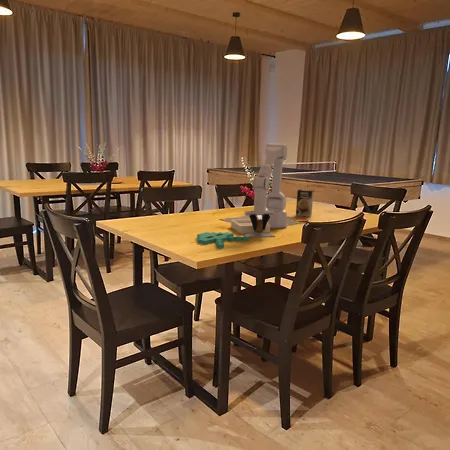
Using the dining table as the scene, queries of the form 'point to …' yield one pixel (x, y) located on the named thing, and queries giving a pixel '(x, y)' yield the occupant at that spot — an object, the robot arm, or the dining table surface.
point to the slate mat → (258, 235)
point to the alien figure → (218, 238)
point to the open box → (246, 226)
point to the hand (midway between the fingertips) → (258, 229)
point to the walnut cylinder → (259, 226)
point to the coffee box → (304, 203)
